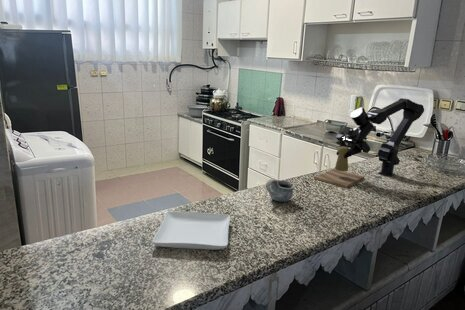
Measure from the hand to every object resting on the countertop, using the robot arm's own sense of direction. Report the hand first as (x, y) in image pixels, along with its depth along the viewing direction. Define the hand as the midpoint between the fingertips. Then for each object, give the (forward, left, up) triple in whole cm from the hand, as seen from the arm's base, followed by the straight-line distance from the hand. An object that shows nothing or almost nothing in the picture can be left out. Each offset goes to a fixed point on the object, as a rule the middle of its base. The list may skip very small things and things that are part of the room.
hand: (340, 156), depth 161 cm
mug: (+45, -3, -12) cm, 47 cm away
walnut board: (-1, +1, -11) cm, 11 cm away
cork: (-1, +1, -7) cm, 7 cm away
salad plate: (+87, -5, -12) cm, 88 cm away
